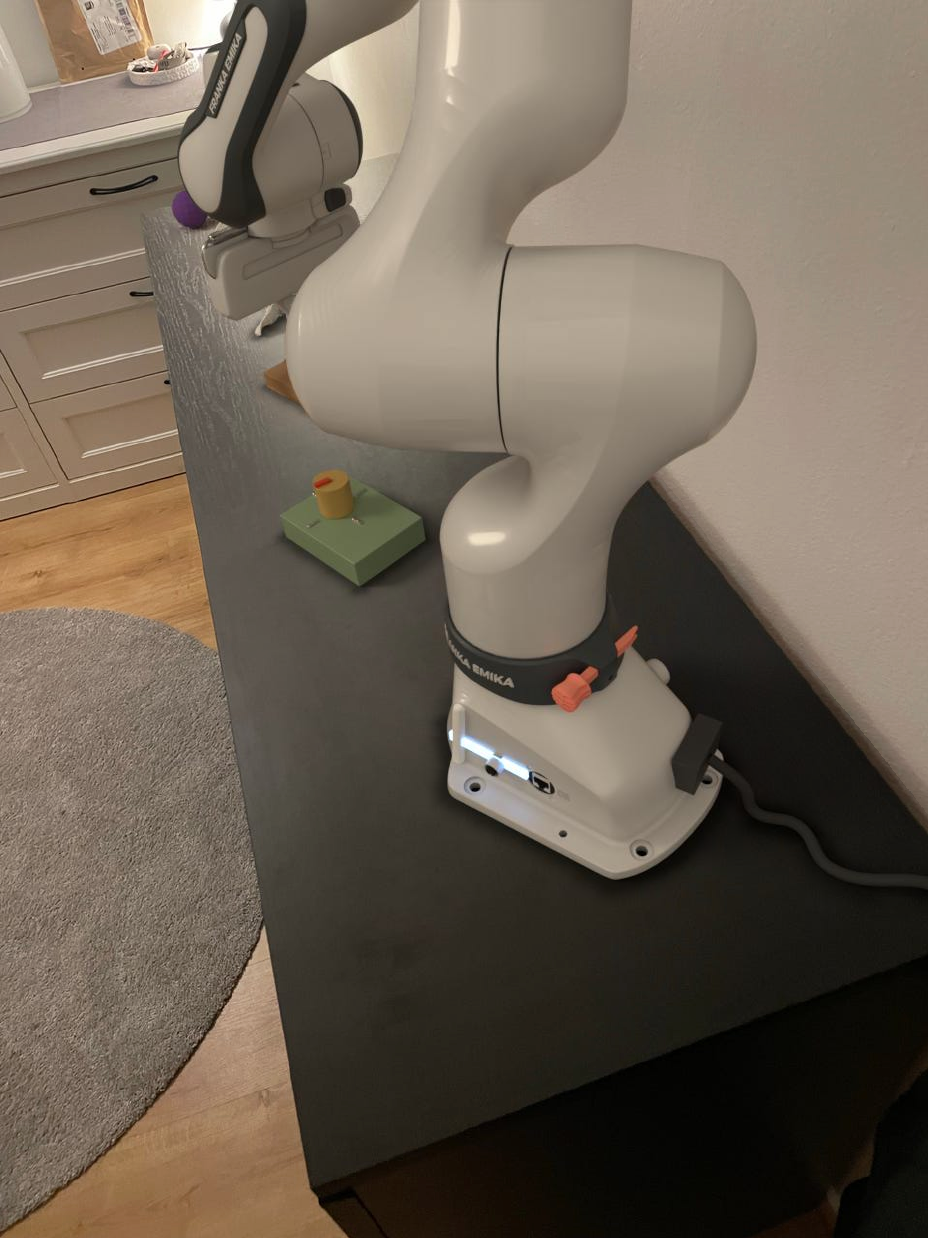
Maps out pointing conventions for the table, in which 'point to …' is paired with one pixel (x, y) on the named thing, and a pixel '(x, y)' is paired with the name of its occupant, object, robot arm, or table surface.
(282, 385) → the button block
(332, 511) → the tap knob
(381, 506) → the dial panel
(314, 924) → the table surface
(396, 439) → the robot arm
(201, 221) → the kendama
